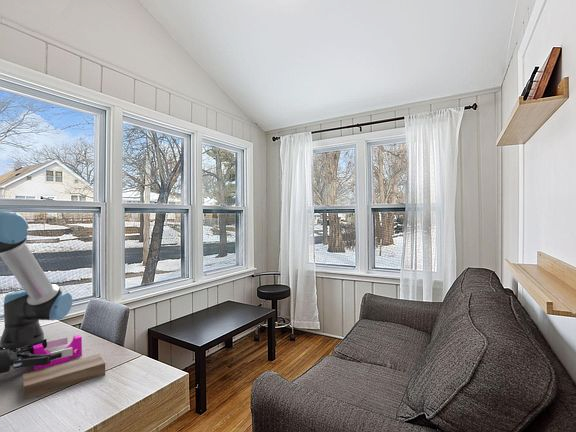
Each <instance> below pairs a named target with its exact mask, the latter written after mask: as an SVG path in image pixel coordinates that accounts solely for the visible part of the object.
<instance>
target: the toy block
mask: <svg viewBox="0 0 576 432" xmlns="http://www.w3.org/2000/svg"><path fill="white" fill-rule="evenodd" d="M82 341H83V340H82V336H81V335H80V334H77V335H76V334H75V335H73V338H72V340H71V342H70V343H69V344H68V346H66V347H64V349H67V348H71V347H72V349H73V355H71V356H67V357H63V358H60V359H56V360H52V361H51V360H50V362H51V363H50V364H47V365H38V366H33V368H34V371H36V370H40V369H44V368H48V367H51V366H55V365H59V364H63V363H67V362H70V359H73V358H76V357H77V358H78V357H80V356H83V346H82V345H83V342H82ZM51 352H52V351H50V350H47V349H46V348H45V349H44V348H43V345H42V344H37V345H33V354H50V353H51Z"/></svg>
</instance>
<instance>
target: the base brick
mask: <svg viewBox="0 0 576 432" xmlns="http://www.w3.org/2000/svg"><path fill="white" fill-rule="evenodd" d="M105 375H106V362H105V361H104V359H103V357H102V356H101V355H100V353H97V354H94V355H91V356H90V355H89V356H86V357H83V358H79V359H74V360H69V361H68V362H64V363H61V364H57V365H54V366H50V367H46V368H43V369H39V370H36V371H35V370H33V371H29V372H25V373H22V390H23V400H26V399H30V398H33V397H36V396H39V395H43V394H45V393H46V394H47V393H49V392H52V391H55V390H59V389H63V388H66V387H68V386H72V385H75V384H79V383H81V382H82V383H83V382H85V381H88V380H91V379H96V378H98V377H102V376H105Z"/></svg>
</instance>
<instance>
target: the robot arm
mask: <svg viewBox="0 0 576 432" xmlns="http://www.w3.org/2000/svg"><path fill="white" fill-rule="evenodd" d="M29 228H30V227H29V224H28V222H27V220H26V218H25V217H24V216H22V215H21V214H19V213H16V212H13V211H6V210H0V259H2V261H3V262H4V263H5V265H6V266H7V268H8V269H9V271H10V272H11V274H12V275H13V276H14V278H15V279H16V280H17V282H18V284H19V285H20V286H21V287H22V289H21V290H18V291H14V292H13V291H12V292H10V293H7V294H6V295H5V296H4V301H3V319H4V328H3V332H2V334H1V336H0V347H1V348H5V349H1V350H0V374H3V373H4V374H5V373H8V372H10V370H11V366H12V367H13V370H16V369H21V368H28V367H34V366H38V365H47V364H50V363H51V362H50V360H51V361H52V360H56V359H60V358H63V357H67V356H71V355H73V349H72V347H71V348H67V349H65V348H63V349H59V350H56V351H50V352H51V353H50V354H33V345H37V344H42V345H43V348H44V349H45V350H47V349H51V348H57V347H60V346H64V345H69V343H68V336H65V337H59V338H56V339H55V338H54V339H51V340H47V339H46V338H45V333H44V330H43V328H42V326H41V324H40V321H57V320H58V321H59V320H63V319H64V318H66V316H68V314H69V313H70V311H71V310H72V306H73V302H74V301H73V296H72V294H71V293H69V292H67V291H64V292H63V291H62V290H61V289H60V287H59V286H58V285H57V284H55V283H52V282H51V281H50V280H49V278H48V277H47V275H46V273H45V272H44V270H43V269H42V267H41V266H40V265H41V264H39V262H38V261H37V259H36V257H35V256H34V254H33V253H32V251H31V250H30V248H29V246H28V245H27V244H26V242H27V240H28V235H29V230H28V229H29ZM15 348H17V349H15ZM11 350H12V351H13V352H12V353H11Z"/></svg>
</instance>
